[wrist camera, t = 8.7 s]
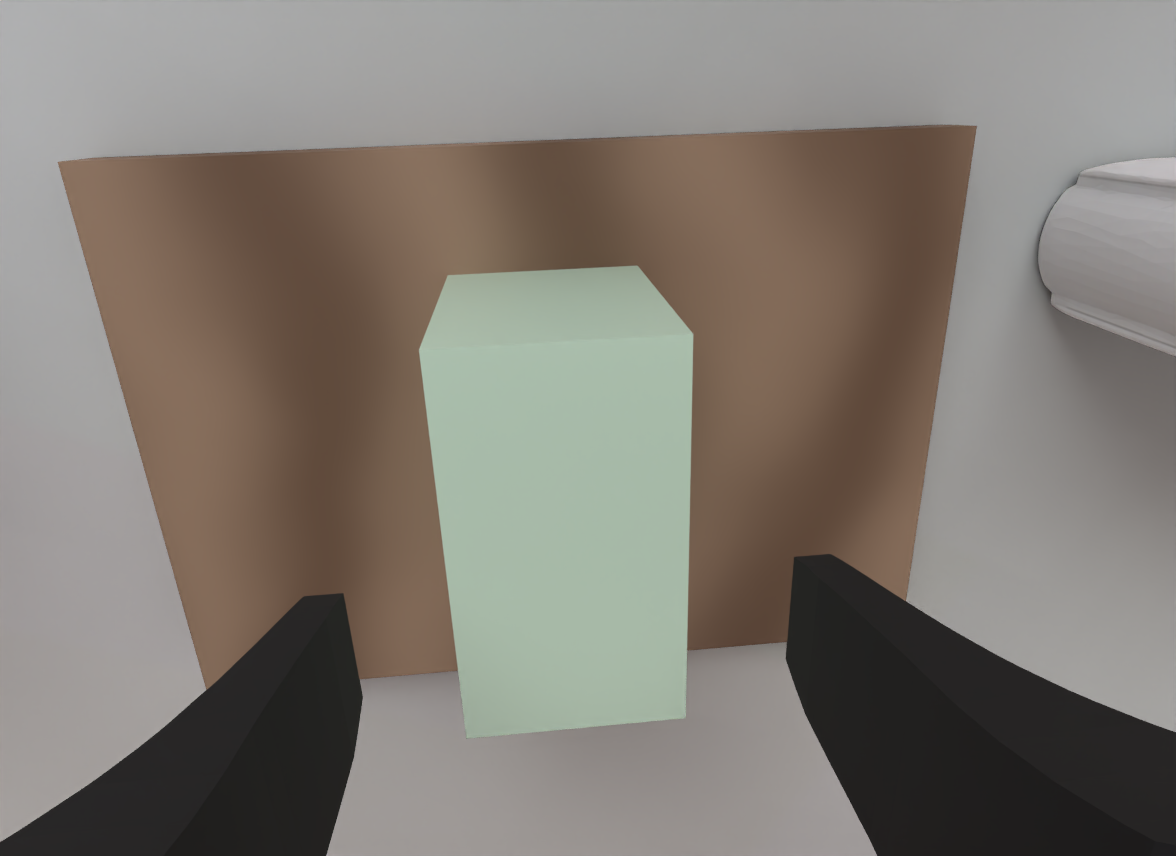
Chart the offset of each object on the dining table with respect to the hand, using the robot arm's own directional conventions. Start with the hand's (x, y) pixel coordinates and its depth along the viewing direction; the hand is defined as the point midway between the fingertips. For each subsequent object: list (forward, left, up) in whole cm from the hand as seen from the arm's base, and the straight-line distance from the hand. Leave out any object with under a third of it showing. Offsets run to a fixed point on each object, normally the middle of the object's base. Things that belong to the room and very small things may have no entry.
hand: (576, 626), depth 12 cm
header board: (0, 0, -9) cm, 9 cm away
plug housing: (0, 0, -8) cm, 8 cm away
